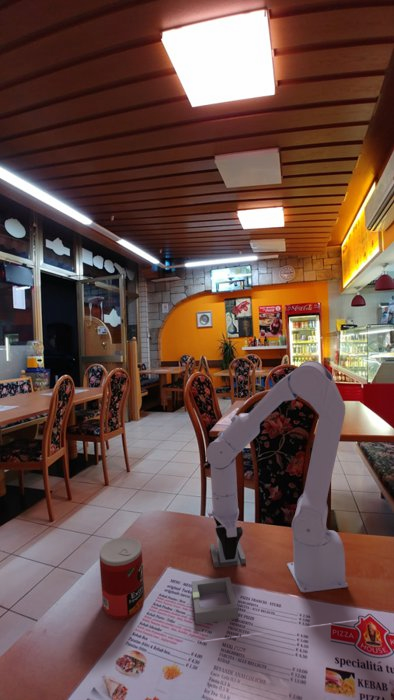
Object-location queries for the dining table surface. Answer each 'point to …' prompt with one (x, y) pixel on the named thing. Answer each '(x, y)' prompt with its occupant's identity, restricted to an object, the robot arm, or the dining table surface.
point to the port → (214, 611)
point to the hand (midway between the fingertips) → (227, 549)
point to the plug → (220, 551)
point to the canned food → (122, 577)
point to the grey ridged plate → (217, 562)
